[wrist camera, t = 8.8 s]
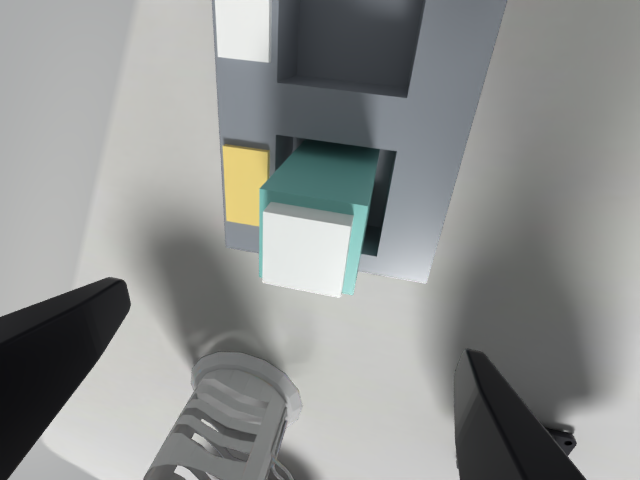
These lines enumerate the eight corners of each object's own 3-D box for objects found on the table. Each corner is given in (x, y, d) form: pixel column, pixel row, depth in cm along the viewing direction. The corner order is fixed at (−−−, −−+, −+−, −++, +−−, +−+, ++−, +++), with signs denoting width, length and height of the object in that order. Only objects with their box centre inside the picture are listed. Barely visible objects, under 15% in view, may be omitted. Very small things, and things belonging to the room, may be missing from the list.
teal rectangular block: (368, 214, 19) (350, 309, 13) (302, 203, 20) (251, 289, 13) (380, 147, 18) (365, 217, 11) (307, 136, 18) (250, 198, 11)
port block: (507, -81, 14) (544, -123, 10) (422, 242, 21) (426, 287, 17) (250, -95, 15) (200, -136, 11) (253, 213, 22) (223, 250, 18)
